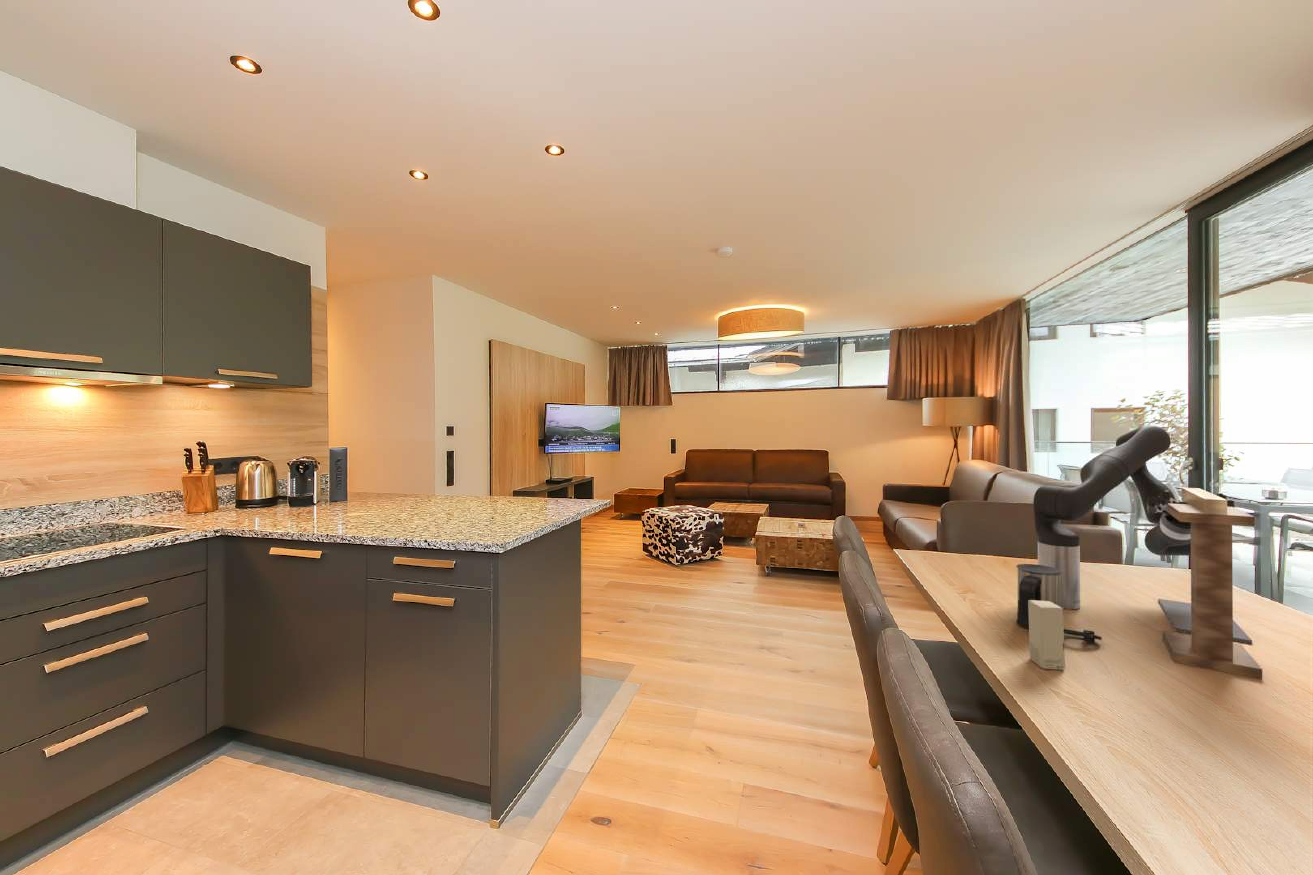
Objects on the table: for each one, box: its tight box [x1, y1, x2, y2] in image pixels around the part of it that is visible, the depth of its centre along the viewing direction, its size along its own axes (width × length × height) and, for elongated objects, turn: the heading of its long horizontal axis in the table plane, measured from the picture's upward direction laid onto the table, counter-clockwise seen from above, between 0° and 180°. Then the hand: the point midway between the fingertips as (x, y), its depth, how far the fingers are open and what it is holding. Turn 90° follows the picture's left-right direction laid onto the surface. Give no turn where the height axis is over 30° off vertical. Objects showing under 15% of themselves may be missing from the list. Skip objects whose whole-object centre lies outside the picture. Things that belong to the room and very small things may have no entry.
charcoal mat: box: [1157, 598, 1253, 645], centre depth 125 cm, size 12×26×1 cm, turn 141°
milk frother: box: [1015, 563, 1103, 643], centre depth 119 cm, size 14×16×15 cm
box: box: [1028, 600, 1066, 671], centre depth 103 cm, size 5×4×13 cm
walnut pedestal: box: [1162, 503, 1263, 680], centre depth 104 cm, size 12×15×32 cm
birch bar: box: [1181, 487, 1228, 515], centre depth 108 cm, size 3×24×3 cm, turn 141°
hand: (1193, 495), depth 114 cm, fingers open, 8 cm apart
